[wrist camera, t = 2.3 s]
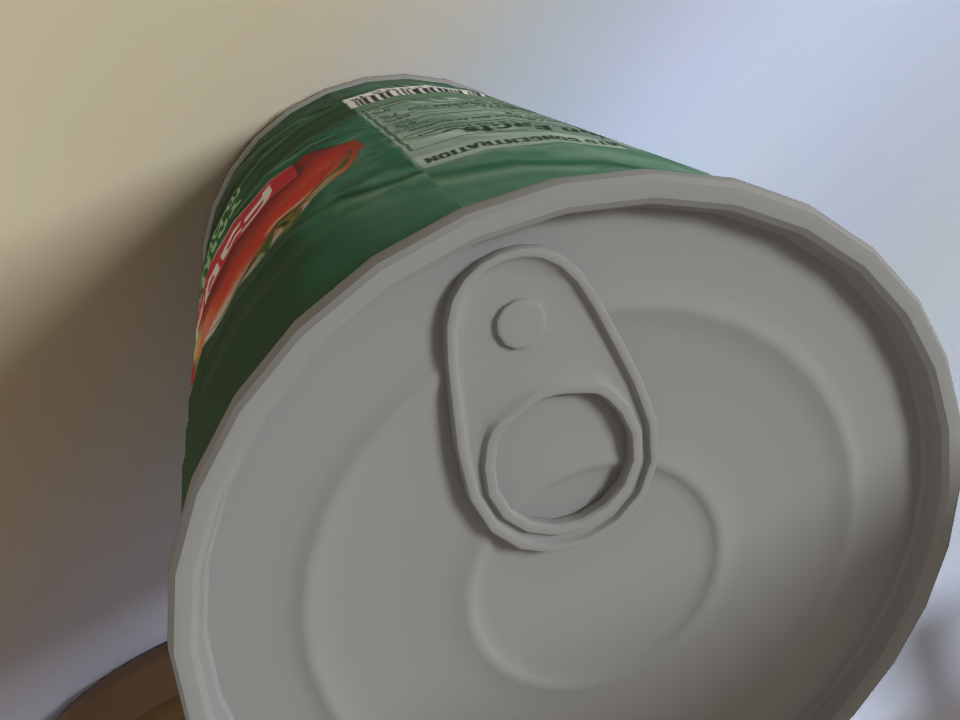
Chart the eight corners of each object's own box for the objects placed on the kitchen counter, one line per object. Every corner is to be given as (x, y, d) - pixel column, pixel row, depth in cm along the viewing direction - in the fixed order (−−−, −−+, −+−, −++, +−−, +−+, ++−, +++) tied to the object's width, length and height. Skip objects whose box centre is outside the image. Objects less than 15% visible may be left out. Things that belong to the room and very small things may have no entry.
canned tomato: (615, 364, 20) (984, 708, 10) (294, 496, 19) (364, 1010, 10) (524, 13, 17) (946, 31, 7) (127, 154, 16) (-35, 406, 6)
